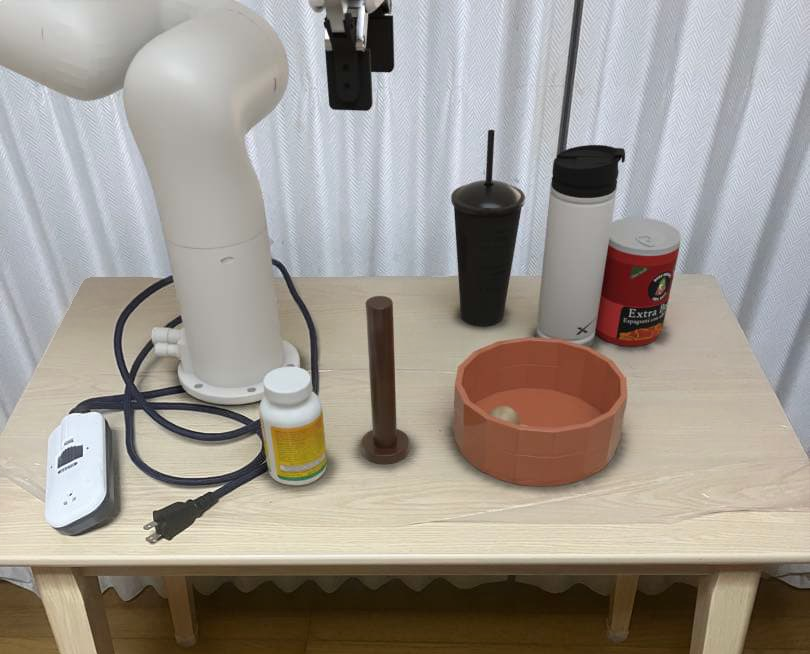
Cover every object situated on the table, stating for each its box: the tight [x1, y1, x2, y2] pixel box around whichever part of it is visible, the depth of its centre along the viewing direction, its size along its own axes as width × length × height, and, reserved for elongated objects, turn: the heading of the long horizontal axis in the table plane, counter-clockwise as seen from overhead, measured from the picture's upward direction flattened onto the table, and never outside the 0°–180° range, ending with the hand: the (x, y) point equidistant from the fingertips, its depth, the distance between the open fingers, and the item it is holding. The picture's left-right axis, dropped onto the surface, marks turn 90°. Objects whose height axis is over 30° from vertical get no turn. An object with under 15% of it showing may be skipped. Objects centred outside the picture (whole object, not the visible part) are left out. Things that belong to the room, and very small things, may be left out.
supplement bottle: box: [258, 367, 328, 486], centre depth 75 cm, size 5×5×10 cm
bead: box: [489, 406, 519, 425], centre depth 80 cm, size 3×3×3 cm
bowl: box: [453, 336, 628, 487], centre depth 79 cm, size 15×15×6 cm
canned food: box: [595, 217, 682, 347], centre depth 92 cm, size 8×8×11 cm
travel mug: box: [535, 144, 626, 348], centre depth 87 cm, size 6×7×20 cm
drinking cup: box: [450, 129, 526, 327], centre depth 91 cm, size 8×8×20 cm
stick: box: [360, 295, 410, 465], centre depth 75 cm, size 4×4×15 cm
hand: (363, 89), depth 68 cm, fingers open, 9 cm apart
